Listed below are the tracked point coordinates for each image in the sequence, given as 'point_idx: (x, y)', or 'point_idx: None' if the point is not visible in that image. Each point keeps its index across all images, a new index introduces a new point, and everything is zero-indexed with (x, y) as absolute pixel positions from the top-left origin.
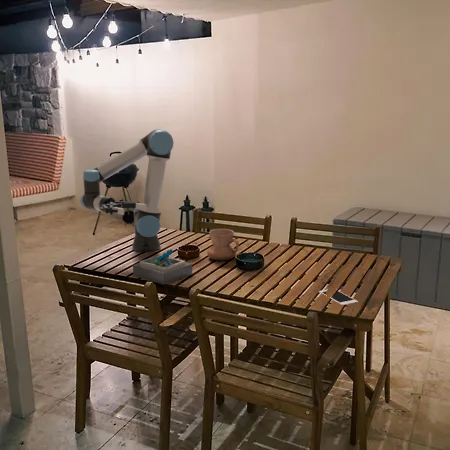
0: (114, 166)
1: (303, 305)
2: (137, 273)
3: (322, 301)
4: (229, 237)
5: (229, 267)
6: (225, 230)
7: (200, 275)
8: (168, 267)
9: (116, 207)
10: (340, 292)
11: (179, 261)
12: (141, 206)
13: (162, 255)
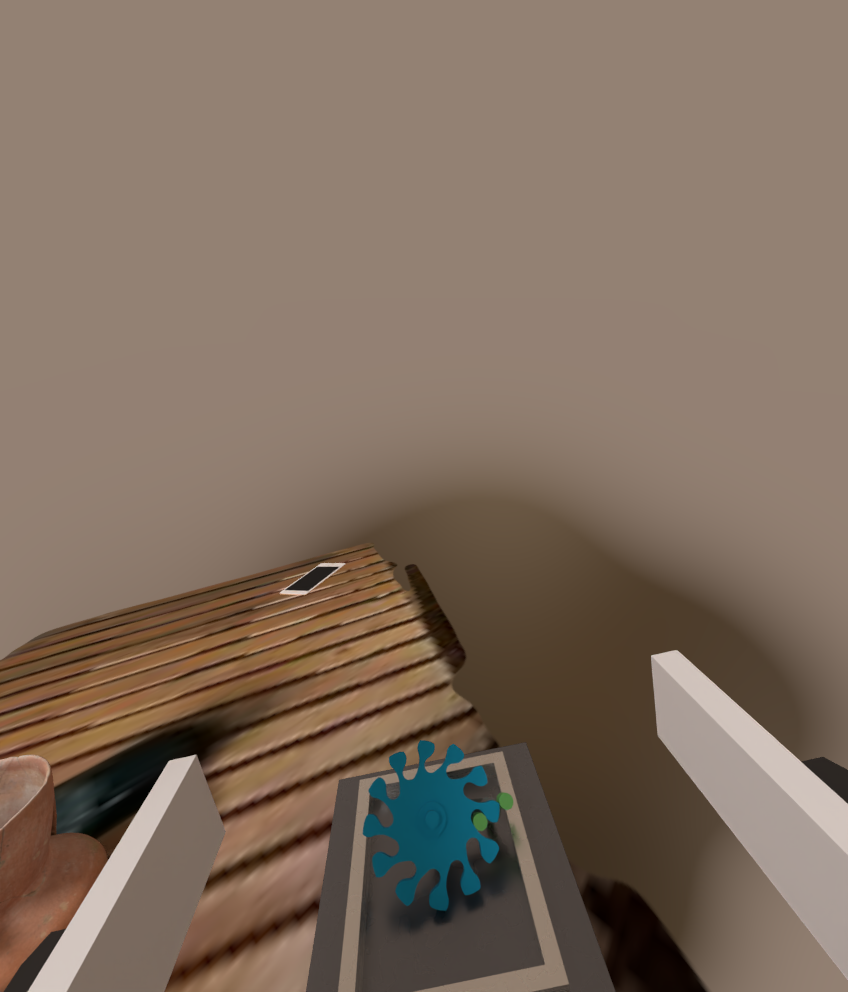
0: None
1: (381, 575)
2: None
3: (347, 575)
4: (31, 772)
5: None
6: None
7: None
8: (476, 759)
9: (814, 807)
10: (295, 582)
11: (369, 807)
12: (163, 886)
13: (455, 779)
